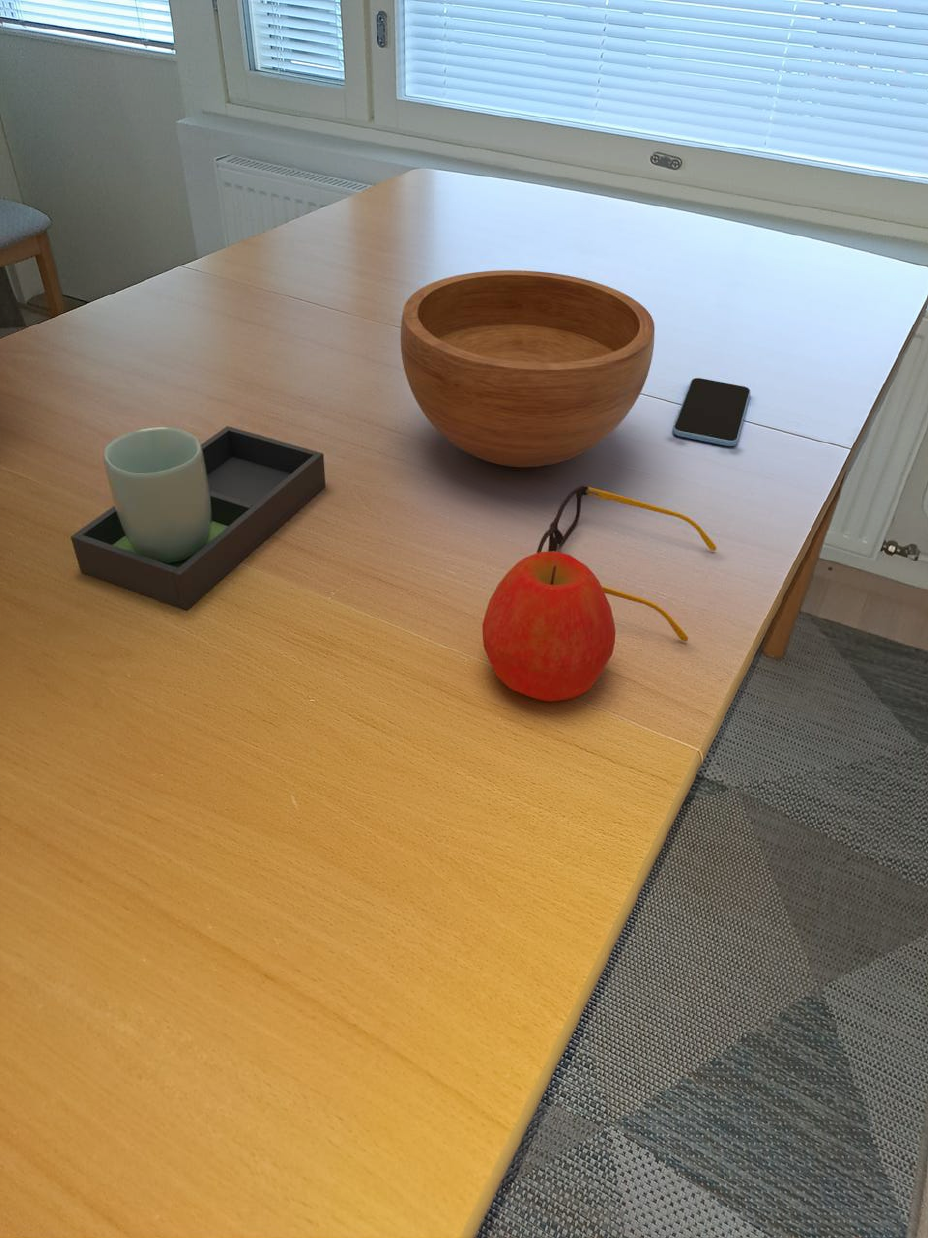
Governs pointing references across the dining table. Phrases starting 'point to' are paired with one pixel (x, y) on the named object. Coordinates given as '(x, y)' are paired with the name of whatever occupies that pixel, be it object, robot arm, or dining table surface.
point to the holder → (241, 518)
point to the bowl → (525, 362)
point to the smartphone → (712, 412)
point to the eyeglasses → (610, 496)
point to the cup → (160, 492)
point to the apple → (549, 627)
